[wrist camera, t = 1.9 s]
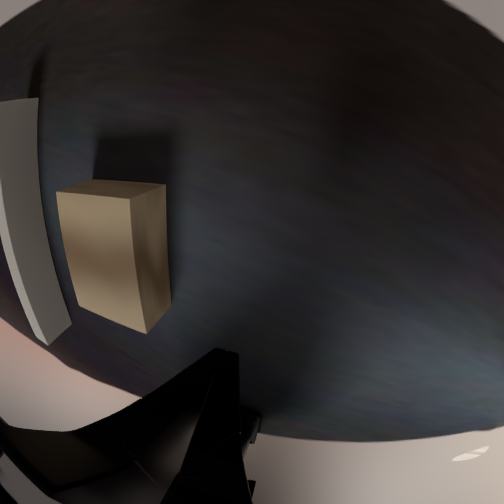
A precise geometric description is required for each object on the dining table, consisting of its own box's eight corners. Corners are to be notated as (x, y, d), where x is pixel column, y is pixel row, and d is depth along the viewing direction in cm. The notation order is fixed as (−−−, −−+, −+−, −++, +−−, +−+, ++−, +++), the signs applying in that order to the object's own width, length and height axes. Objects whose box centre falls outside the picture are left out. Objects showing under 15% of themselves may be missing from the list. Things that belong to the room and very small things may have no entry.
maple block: (173, 302, 18) (146, 334, 15) (108, 281, 19) (79, 305, 16) (168, 183, 14) (129, 199, 11) (95, 178, 15) (56, 191, 12)
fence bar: (72, 323, 23) (48, 345, 19) (59, 316, 23) (36, 336, 20) (38, 97, 13) (-1, 102, 10) (26, 103, 14) (-10, 108, 10)
